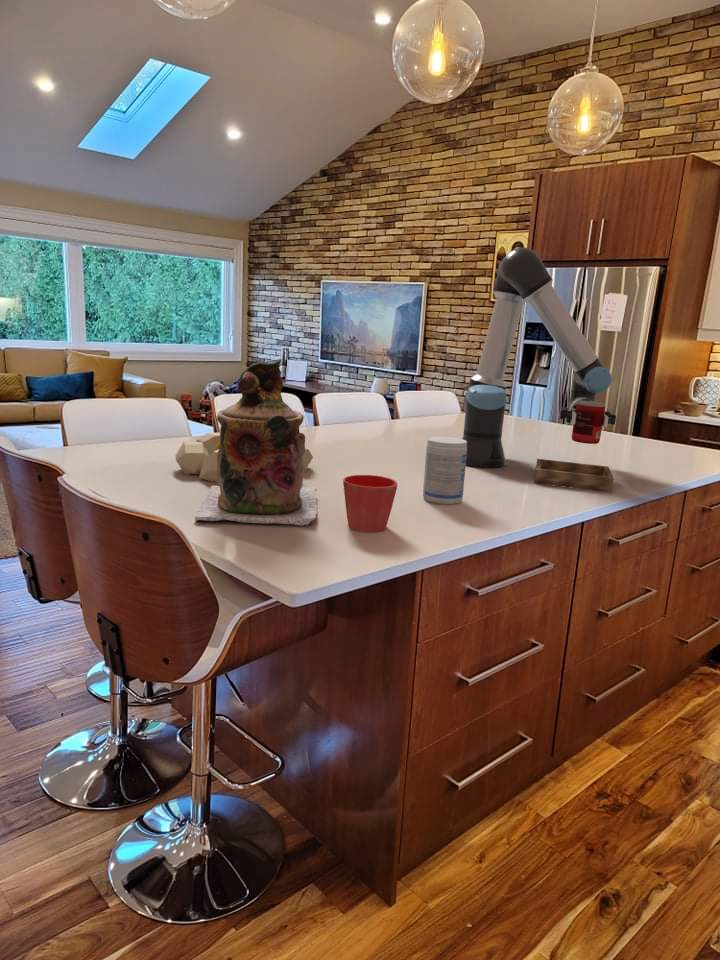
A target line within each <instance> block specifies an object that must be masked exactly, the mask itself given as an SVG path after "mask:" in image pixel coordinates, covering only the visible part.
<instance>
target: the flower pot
mask: <svg viewBox="0 0 720 960" xmlns="http://www.w3.org/2000/svg"><path fill="white" fill-rule="evenodd" d="M342 483H343V484H342V485H343V492H344V493H343V494H344V501H345V511H346V518H347V526H348V527H349V528H350V529H352V530H355V531H358V532H363V533H377V532H378V533H380V532H382V531H384V530H386V529H387V525H388V523H389V519H390V515H391V512H392V509H393V505H394V501H395V497H396V492H397V489H398V482H397V480H395V479H392V478H390V477H386V476H382V475H375V474H374V475H373V474H354V475H353V474H352V475H349V476H345V477H344V478H343V479H342Z"/></svg>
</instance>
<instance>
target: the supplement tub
mask: <svg viewBox="0 0 720 960" xmlns="http://www.w3.org/2000/svg"><path fill="white" fill-rule="evenodd" d="M466 457H467V441H466V440H463V439H462V438H458V437H450V436H433V437H432V436H431V437H428V438H427V442H426V449H425V458H424V459H425V461H424V472H423V473H424V475H423V488H422V497H423V499H424V500H425V501H427V502H429V503H433V504H438V505H457V504H459V503H461V502H462V500H463V499H464V498H463V497H464V489H465V488H464V487H465V486H464V485H465V478H466V477H465V476H466V467H467V465H466Z"/></svg>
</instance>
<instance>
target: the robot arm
mask: <svg viewBox="0 0 720 960" xmlns="http://www.w3.org/2000/svg"><path fill="white" fill-rule="evenodd" d="M553 280H554V279H553V278H552V276H551V275H550V273H549V272H548V269H547V268H546V266H545V264H544V263H543V260H542V259H541V257H540V256H539V255H538V253H537V252H536V251H534V250H533V249H532V248H529V247H518V248H517V247H516V248H514V249H512V250H511V251H509V252H508V253H507V254H506V255H505V256H504V257H503V258H502V260H501V261H500V262H499V264H498V266H497V270H496V278H495V282H494V286H493V290H492V293H493V295H494V297H495V301H494V306H493V310H492V314H491V318H490V321H489V325H488V329H487V334H486V336H485V337H486V338H485V340H484V345H483V348H482V351H481V356H480V359H479V364H478V367H477V371H476V373H475V374H474V375H473V376H471V377H470V379H469V383H468V385H467V386H468V387H467V390H466V393H465V395H464V398H463V400H462V401H463V402H462V407H463V411H464V413H465V414H464V415H465V416H464V423H463V433H462V434H463V435H462V438H461V439H463V440H466V441H467V457H466V466H469V467H475V468H476V467H477V468H485V469H488V468H489V469H491V468H501V467H504V466H505V461H506V457H505V453H504V452H505V451H504V447H503V441H502V436H503V427H504V420H505V419H504V418H505V411H506V410H505V409H506V404H507V391H506V388H507V385H506V383H505V382H504V377H505V373H506V370H507V366H508V362H509V358H510V355H511V350H512V347H513V343H514V339H515V336H516V333H517V329H518V325H519V322H520V318H521V314H522V311H523V306H524V304H526V303H528V302H529V304H530V306H531V307H532V309H534V312H535V313H536V315H537V316H538V317H539V319H540V321H541V323H542V324H543V325H544V327H545V328H546V330H547V332H548V333H549V334H550V336H551V337H552V339H553V341H554V342H555V345H556V346H557V347H558V349H559V350H560V352H561V353H562V354H563V356H564V358H565V359H566V360H567V362H568V364H569V365H570V367H571V369H573V375H572V376H573V378H572V386H571V391H570V399H569V401H568V406H567V407H566V406H562V408H561V409H560V415H559V419H560V420H565V419H566V422H565V423H571V424H572V425H573V424H575V420H576V413H575V410H576V404H577V401H594V402H596V396H597V393H598V394H601V393H603V392H606V391H607V390H608V389H609V388H610V386H611V385H612V381H613V377H612V373H611V372H610V371H609V370H608V369H607V368H606V367H604V365H603V363H602V362H601V359H599V358H598V356H597V354H596V352H595V351H594V350H593V348H592V346H591V345H590V342H588V340H587V339H586V337H585V335H584V334H583V331H581V329H580V328H579V326H578V324H577V322H576V321H575V319H574V318H573V316H572V315H571V314H570V311H568V309H567V307H566V305H565V304H564V302H563V301H562V299H561V298H560V296H559V295H558V293H557V292H556V290H555V289H554V287H553ZM616 420H617V414H614V413H611V412H610V411H609V410H607V411H606V410H605V413H604V418H603V424H602V427H603V428H608V425H612V426H613V425H616V422H617V421H616Z"/></svg>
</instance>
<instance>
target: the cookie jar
mask: <svg viewBox="0 0 720 960" xmlns="http://www.w3.org/2000/svg"><path fill="white" fill-rule="evenodd" d="M281 362H282V359H281V358H277V360H276V361H274V362H256V363H253V364H250V365H249V366H248V367H247V368H246V369H245V370H243V371H242V372H241V374H240V377H239V381H238V382H237V387H238V389H239V392H240V394H241V396H242V397H241V398H240V399H239V400H238V401H237V402H236V403H235V404H233V405H230V406H228V407H226V408H224V409H221V410H220V411H218V412H217V416H216V419H217V422H218V423H219V424H220V428H219V429H220V430H219V431H220V438H221V439H220V447H219V450H218V453H217V482H216V483H217V485H211V486H210V487H209V490H208V493H207V495H206V496H205V498H204V499H203V500H202V502H201V506H200V507H199V510H198V511H197V512H196V514H195V515H194V517H193V518H194V520H195V522H197V521H206V522H207V521H208V522H213V521H216V522H218V521H225V520H226V521H231V522H233V521H235V522H238V523H252V524H268V525H269V524H273V525H274V524H276V525H295V526H306V525H309V524H310V523H311V522H313V521H314V520H315V519H316V517H317V515H318V505H317V498H316V497H317V496H316V494H317V490H318V489H317V487H315V486H311V487H310V486H309V487H303V480H304V479H303V475H304V470H303V463H302V456H303V455H304V453H305V444H306V436H305V434H304V433H302V432H300V427H301V425H302V424H303V422H304V419H305V417H304V415H303V413H302V412H298V411H296V410H293V409H292V408H291V407H290V406H289V405H288V404H286V402H284V400H283V397H282V390H283V385H284V380H283V379H282V377H281V375H282V371H281V370H280V365H281Z"/></svg>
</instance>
